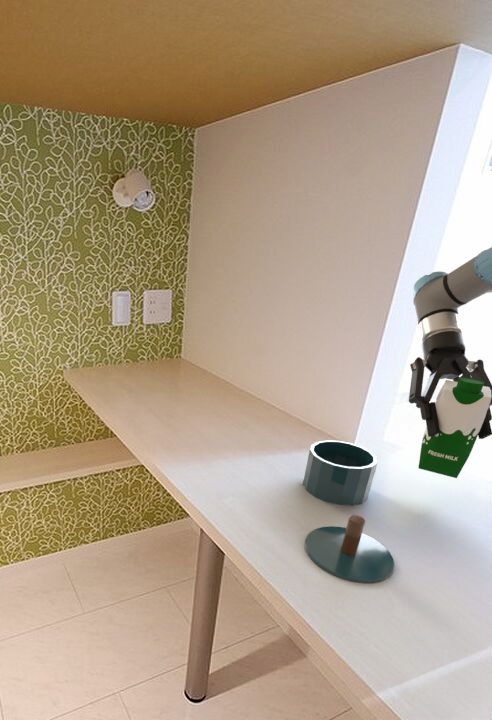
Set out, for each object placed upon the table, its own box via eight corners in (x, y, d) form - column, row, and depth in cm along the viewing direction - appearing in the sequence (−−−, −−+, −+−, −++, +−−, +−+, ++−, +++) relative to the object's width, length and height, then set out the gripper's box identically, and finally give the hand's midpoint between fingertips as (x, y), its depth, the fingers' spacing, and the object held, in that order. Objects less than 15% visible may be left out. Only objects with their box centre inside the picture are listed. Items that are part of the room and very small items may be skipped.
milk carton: (413, 469, 93) (444, 379, 84) (416, 453, 99) (446, 368, 90) (461, 481, 88) (500, 388, 79) (462, 464, 95) (497, 376, 86)
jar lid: (412, 574, 75) (426, 535, 71) (344, 594, 70) (356, 555, 67) (348, 525, 87) (358, 490, 84) (287, 540, 83) (294, 503, 79)
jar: (380, 500, 96) (392, 462, 91) (331, 512, 91) (340, 472, 87) (336, 472, 107) (344, 437, 103) (290, 480, 103) (297, 444, 99)
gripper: (481, 349, 97) (502, 444, 90) (381, 346, 99) (394, 439, 91) (506, 330, 90) (532, 431, 83) (398, 327, 92) (413, 426, 84)
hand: (459, 435), depth 87 cm, fingers closed on milk carton, 9 cm apart
